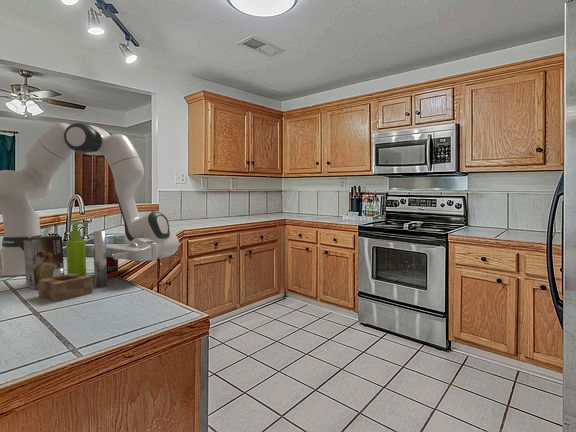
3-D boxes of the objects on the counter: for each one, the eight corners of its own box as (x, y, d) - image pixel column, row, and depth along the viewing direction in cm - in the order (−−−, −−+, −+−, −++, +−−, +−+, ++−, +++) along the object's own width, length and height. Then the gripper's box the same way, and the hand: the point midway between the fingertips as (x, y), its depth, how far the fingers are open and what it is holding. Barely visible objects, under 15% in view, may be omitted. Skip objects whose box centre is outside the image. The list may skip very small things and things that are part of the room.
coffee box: (56, 280, 120) (54, 235, 119) (65, 283, 117) (63, 236, 116) (25, 286, 113) (22, 237, 112) (34, 289, 109) (31, 239, 108)
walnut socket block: (39, 296, 102) (38, 279, 101) (73, 288, 110) (73, 273, 110) (57, 301, 97) (56, 284, 96) (92, 292, 105) (91, 276, 105)
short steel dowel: (50, 287, 112) (49, 268, 112) (61, 284, 115) (60, 266, 115) (55, 288, 110) (55, 270, 110) (66, 286, 113) (66, 268, 113)
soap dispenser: (91, 276, 127) (89, 222, 126) (70, 279, 122) (68, 223, 120) (86, 273, 131) (84, 221, 130) (65, 277, 126) (63, 222, 124)
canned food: (108, 279, 122) (107, 248, 121) (89, 278, 123) (88, 248, 123) (123, 274, 129) (122, 245, 128) (104, 273, 131) (103, 245, 130)
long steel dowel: (93, 286, 112) (91, 231, 111) (103, 284, 115) (101, 230, 114) (99, 288, 111) (97, 232, 110) (109, 285, 114) (107, 231, 113)
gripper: (122, 239, 131) (85, 243, 119) (159, 243, 121) (123, 248, 109) (122, 255, 131) (86, 262, 119) (159, 261, 121) (124, 268, 109)
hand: (104, 255), depth 114 cm, fingers open, 8 cm apart
